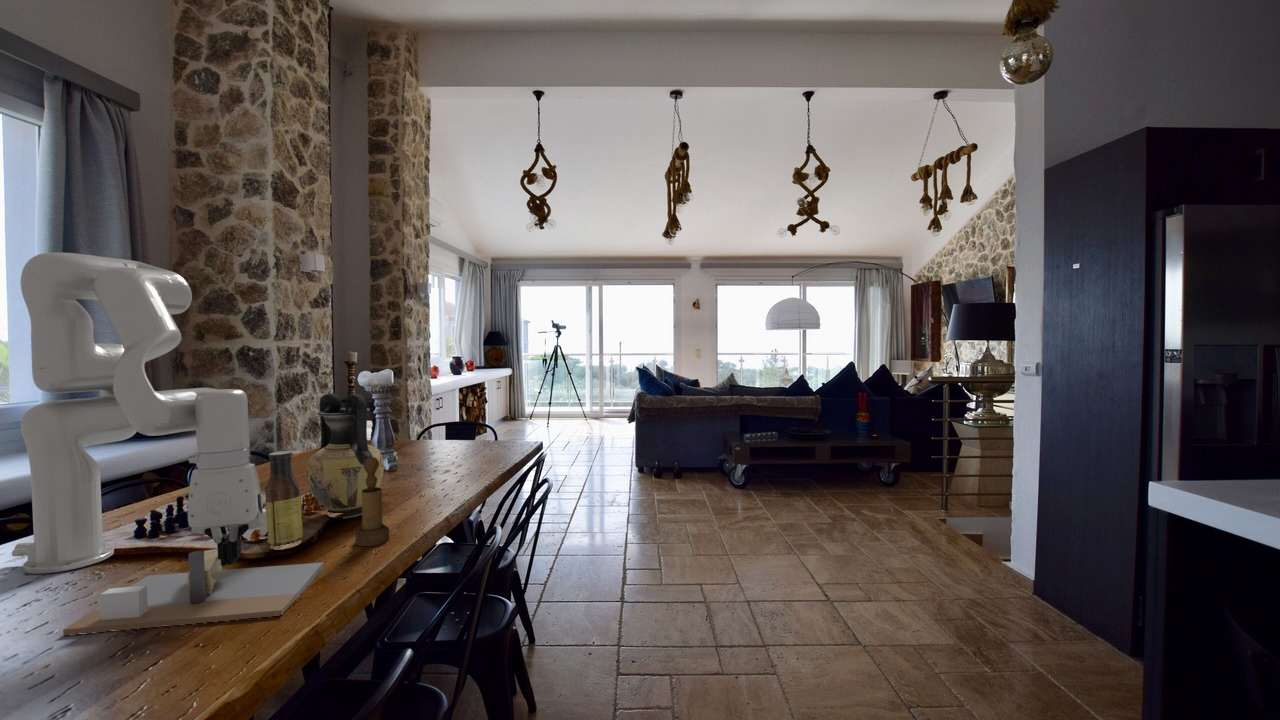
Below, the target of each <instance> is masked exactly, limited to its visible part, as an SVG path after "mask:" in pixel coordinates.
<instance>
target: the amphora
mask: <svg viewBox="0 0 1280 720" xmlns="http://www.w3.org/2000/svg"><path fill="white" fill-rule="evenodd" d="M370 411H371V409H370V408H369V407H368V403H367V402H366V399H365V398H364V396H363V395H361V394H358V393H353V394H350V395H348V396H347V397H346V399H345V401H344V407H342V402H341V398H340V397H339V396H338V394H336V393H333V392H330V393H325V394H324V395H322V397H320V399H319V411H318V412H317V415H318V416H319V420H320V435H321V436H320V438H321V439H320V448H319V450H317V451H316V452H314V453H313V454H312V455H311V456H310V458H309V460H308V462H307V466H306V481H307V484H308V487H309V490H310V492H311V494H312V495H313V497H314V499H315V500H316V501H317V502H318V503H320V504H321V505H322V506H323V507H325V508H326V510H327V512H330V513H331V512H332V513H344V516H343V519H351V518H355V517H359V516H362V490H364V489H367V485H366V480H365V479H367V476H368V474H367V472H366V470H365V469H364V467H363V463H364V461H365V460H366V459H367V458H370V457H374V458H376V459H377V460H378V462H379V466H378V468H377V470H376V472H375V477H376V478H377V483H376V487H378V488H380V486H381V483H382V480H383V475H384V470H385V469H384V459H383V456H382V454H381V452H380V451H379V449H378V448H376V447H375V446H373V445H371V444H368V437H367V436H368V434H367V433H368V431H367V429H368V427H367V425H368V423H367V422H368V413H369V412H370Z"/></svg>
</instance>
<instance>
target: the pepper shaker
mask: <svg viewBox="0 0 1280 720" xmlns="http://www.w3.org/2000/svg"><path fill="white" fill-rule="evenodd" d="M262 503H263V504H264V495H262ZM261 516H262V518H263V524H262V525H261V526H259V527H256V528H253V529H250V530H247V531H246V532H245V533H244V534H243V537H245V538H246V539H248V540H249V539H250V537H251V534H252V532H253V531H255V530H260V532H261V534H262V535H265V534H266V533H267V517H266V508H263V511H262V514H261Z"/></svg>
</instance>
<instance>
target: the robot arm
mask: <svg viewBox="0 0 1280 720" xmlns="http://www.w3.org/2000/svg"><path fill="white" fill-rule="evenodd" d="M20 290H21V294H22V298H23V300H24V303H25V306H26V309H27V311H28V315H29V319H30V342H31V343H30V347H31V349H30V351H31V352H30V353H31V373H32V374H31V375H32V380H33V384H34V385H35V387H36V388H38V390H40V391H43V392H46V393H49V394H50V393H51V394H67V393H71V394H72V393H82V392H85V393H86V392H94V391H95V392H98V393H99V397H97V396H96V397H89V398H85V397H84V398H82V397H81V398H72V399H71V398H70V399H59V400H54V401H53V400H51V401H47V402H46V401H45V402H42V403H39V404H37V405H35V406H32V407H30V408H29V409H28V410H27V411H25V413H24V414H23V416H22V417H21V419H20V431H21V435H22V438H23V442H24V445H25V447H26V452H27V457H28V460H29V461H28V462H29V469H30V470H29V471H30V484H31V485H30V486H31V505H32V507H31V509H32V523H33V524H32V526H33V527H32V529H33V542H20V543H17V544H16V545H15V546H14V549H13V550H12V552H11V556H12V557H22V556H26V557H27V560H26V561H25V562H24V563H23V565H22V569H23V572H24V573H27V574H33V575H36V574H37V575H38V574H39V575H40V574H44V575H45V574H54V573H61V572H66V571H70V570H75V569H81V568H85V567H87V566H91V565H94V564H97V563H100V562H102V561H105V560H107V559H109V558H110V557H111V556H113V555H114V553H115V548H111V549H110V548H109V549H103V546H105V545H107V546H110V544H104V536H103V532H104V531H103V515H102V514H103V512H102V509H103V508H102V489H101V488H102V486H101V485H102V484H101V469H100V465H99V464H98V462H97V461H96V460H95V459H94V458H93V456H92V455H90V453H88V451H86V449H85V448H86V447H87V448H88V447H91V446H96V445H103V444H109V443H114V442H115V443H116V442H121V441H125V440H127V439H129V438H130V439H131V437H133V436H134V435H135V434H137V432H138V433H139V434H142V435H145V436H149V437H151V436H153V437H154V436H165V435H170V434H175V433H176V434H177V433H182V432H190V431H191V432H192V431H195V433H196V452H195V454H192V455H189V457H188V462H189V464H196V468H197V469H195V470H192V473H191V476H190V482H189V490H188V500H187V501H188V502H187V521H188V522H187V523H188V526H189V527H190V528H191V532H192V533H193V534H200V535H206V536H208V537H209V538H210V539H212V541H213V542H214V544H216V545H217V548H216V549H218V559H219V560H221V566H226V565H228V566H231V565H233V564H235V563H236V562H237V561H238V560H239V558H240V557H241V556H242V543H241V536H243V534H244V533H245V532H246V531H247V530H250V529H253V528H256V527H259V526H261V525H262V524H263V518H262V516H261V514H262V511H263V509H264V502H263V503H262V489H261V488H262V487H261V483H260V482H261V481H260V479H259V474H258V470H257V468H256V465H255V463H251V449H250V447H251V445H250V442H251V441H250V430H249V429H250V425H249V407H248V405H249V404H248V395H247V394H246V392H245V391H243V390H242V389H237V388H231V389H229V388H225V389H217V388H212V387H211V388H210V387H196V388H195V387H194V388H181V389H179V388H178V389H167V390H159V391H158V390H157V391H156V390H155V389H154V388H153V385H152V383H150V380H149V378H148V376H147V373H146V369H145V366H146V365H145V364H146V363H147V362H150V361H152V360H154V359H156V358H159V357H161V356H163V355H166V354H167V353H169V352H171V351H172V350H174V349H175V348H177V346H178V345H180V343H181V341H182V333H181V331H180V329H179V328H178V325H177V324H176V322H175V320H174V319H173V318H174V317H172V315H178V314H182V313H184V312H185V311H186V310H188V309H189V307H190V306H191V303H192V301H193V300H192V299H193V296H192V295H193V294H192V290H191V286H190V285H189V283H188V282H187V280H185V279H184V278H183V276H182V275H180V274H179V273H176V272H174V271H171V270H168V269H165V268H161V267H157V266H154V265H152V264H147V263H144V262H141V261H137V260H131V259H123V258H116V257H115V258H114V257H109V256H108V257H107V256H100V255H99V256H98V255H92V254H84V253H74V252H61V251H60V252H45V253H44V252H43V253H40V254H36V255H34V256H32V257H31V258H30V259H29V260H27V262H26V263H25V264H24V265H23V268H22V271H21V275H20ZM77 300H90V301H91V300H92V301H98V303H99V305H100V306H101V308H102V310H103V312H104V313H105V316H106V318H107V320H108V321H109V324H110V325H111V328H112V329H113V331H114V332H115V335H116V336H117V337H116V338H117V339H118V341H119V342H120V344H118V343H95V339H94V338H95V337H94V322H93V319H92V317H91V316H90V314H89V313H88V312H87V310H86V309H85V308H84V307H83V306H82V305H81V303H79V302H78V301H77ZM227 527H230V529H229V531H228V528H227Z"/></svg>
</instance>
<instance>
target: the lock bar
mask: <svg viewBox="0 0 1280 720" xmlns="http://www.w3.org/2000/svg"><path fill="white" fill-rule="evenodd" d="M203 551H204V565H205V595H206V594H211V592H212V590H213V588H214V586H215V584H216V582H217V579H218V577H219V575H220V573H221V571H222V570H223V567H222V566H221V560H219V559H218V548H215V549H209V550H208V549H207V550H203ZM186 573H187V576H188V598H189V597H190V586H189V571H188V572H186Z"/></svg>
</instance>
